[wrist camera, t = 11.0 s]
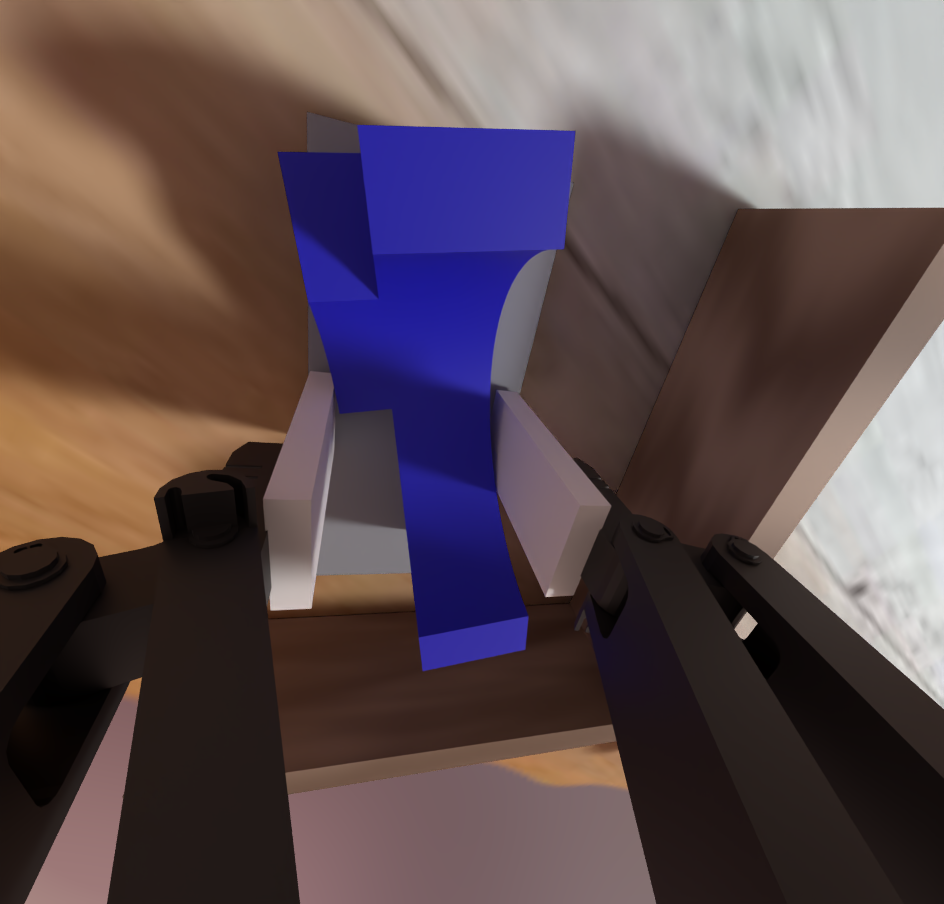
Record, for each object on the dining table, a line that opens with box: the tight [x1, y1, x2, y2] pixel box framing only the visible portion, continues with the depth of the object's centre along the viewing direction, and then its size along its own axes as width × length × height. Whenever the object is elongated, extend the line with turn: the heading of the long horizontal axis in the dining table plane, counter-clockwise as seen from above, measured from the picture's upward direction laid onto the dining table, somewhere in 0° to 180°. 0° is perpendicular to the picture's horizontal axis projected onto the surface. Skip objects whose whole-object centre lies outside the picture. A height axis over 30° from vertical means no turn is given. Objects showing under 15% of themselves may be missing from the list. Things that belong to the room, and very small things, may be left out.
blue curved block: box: [278, 125, 575, 671], centre depth 11 cm, size 12×4×6 cm, turn 0°
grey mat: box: [307, 112, 574, 575], centre depth 14 cm, size 15×7×1 cm, turn 169°
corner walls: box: [123, 208, 944, 798], centre depth 13 cm, size 20×19×6 cm
